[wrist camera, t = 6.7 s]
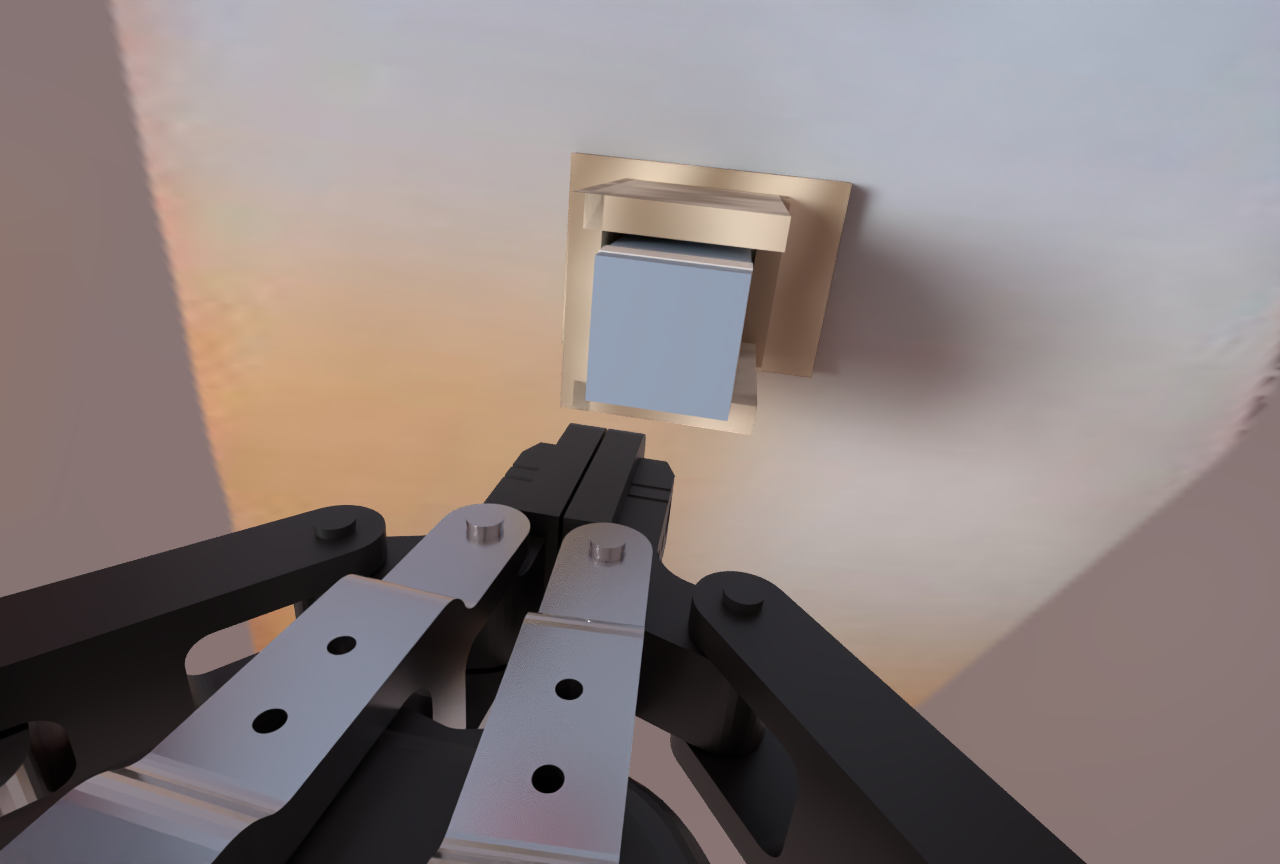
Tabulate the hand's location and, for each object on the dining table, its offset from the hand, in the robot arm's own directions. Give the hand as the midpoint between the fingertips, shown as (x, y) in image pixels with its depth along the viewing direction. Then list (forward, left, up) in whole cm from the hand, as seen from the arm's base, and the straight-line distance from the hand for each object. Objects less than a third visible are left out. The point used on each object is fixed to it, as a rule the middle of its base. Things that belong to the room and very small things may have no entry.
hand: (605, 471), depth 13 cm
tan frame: (0, 0, -25) cm, 25 cm away
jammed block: (0, 0, -24) cm, 24 cm away
